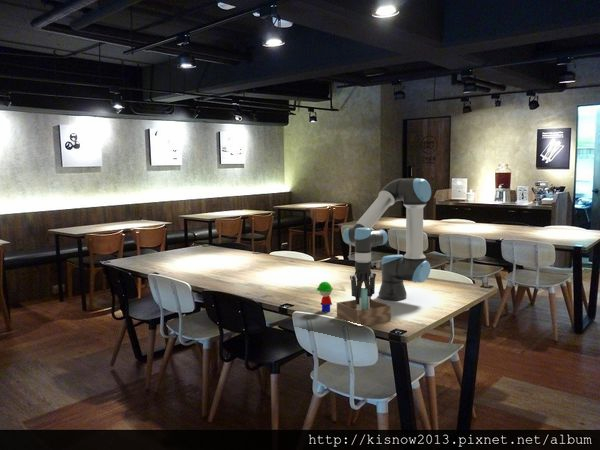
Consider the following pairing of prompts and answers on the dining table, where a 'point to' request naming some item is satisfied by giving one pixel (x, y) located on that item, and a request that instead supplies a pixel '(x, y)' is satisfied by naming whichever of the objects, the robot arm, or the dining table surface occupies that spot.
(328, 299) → the toy
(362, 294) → the peg
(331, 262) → the dining table surface
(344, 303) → the caddy
